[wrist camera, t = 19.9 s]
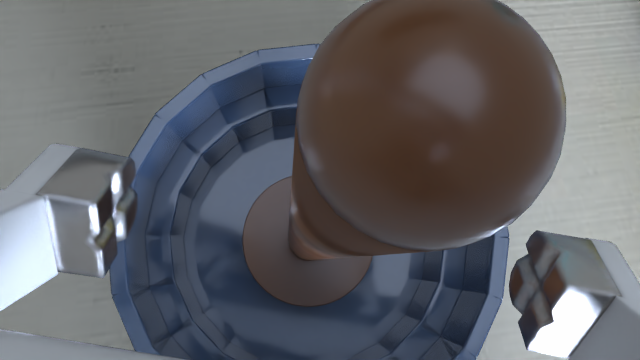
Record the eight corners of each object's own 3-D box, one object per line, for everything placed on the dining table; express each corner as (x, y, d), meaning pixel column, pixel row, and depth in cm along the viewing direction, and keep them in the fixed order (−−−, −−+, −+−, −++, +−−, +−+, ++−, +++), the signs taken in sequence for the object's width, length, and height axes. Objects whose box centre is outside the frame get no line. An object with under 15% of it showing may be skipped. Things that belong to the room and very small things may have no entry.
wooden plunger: (234, 291, 23) (-275, 586, 2) (258, 171, 23) (71, -449, 3) (357, 312, 23) (996, 768, 2) (375, 192, 24) (944, -251, 3)
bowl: (120, 371, 22) (60, 411, 16) (189, 72, 25) (158, 12, 19) (433, 423, 23) (484, 479, 17) (470, 125, 25) (526, 83, 19)
